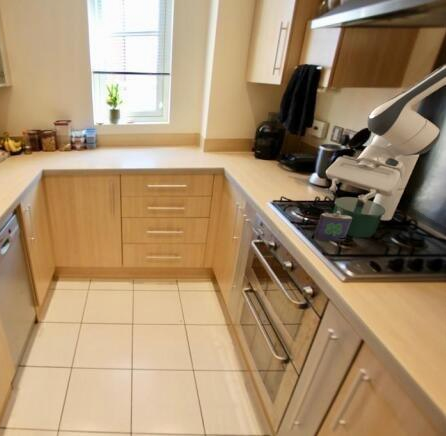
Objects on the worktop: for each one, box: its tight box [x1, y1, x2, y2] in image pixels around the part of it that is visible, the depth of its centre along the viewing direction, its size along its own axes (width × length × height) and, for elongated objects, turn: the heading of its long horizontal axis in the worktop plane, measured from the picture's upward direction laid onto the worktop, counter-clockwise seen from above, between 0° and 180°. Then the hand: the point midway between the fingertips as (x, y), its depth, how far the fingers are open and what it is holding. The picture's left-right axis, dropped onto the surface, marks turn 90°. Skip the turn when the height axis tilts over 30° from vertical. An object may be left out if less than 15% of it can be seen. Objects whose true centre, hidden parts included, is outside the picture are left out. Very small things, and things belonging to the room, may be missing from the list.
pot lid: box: [334, 194, 385, 216], centre depth 110 cm, size 15×15×5 cm
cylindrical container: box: [372, 154, 420, 221], centre depth 116 cm, size 7×7×25 cm
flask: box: [313, 211, 352, 243], centre depth 106 cm, size 9×3×11 cm, turn 75°
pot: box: [331, 203, 382, 238], centre depth 113 cm, size 14×19×8 cm
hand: (346, 196), depth 103 cm, fingers open, 8 cm apart
